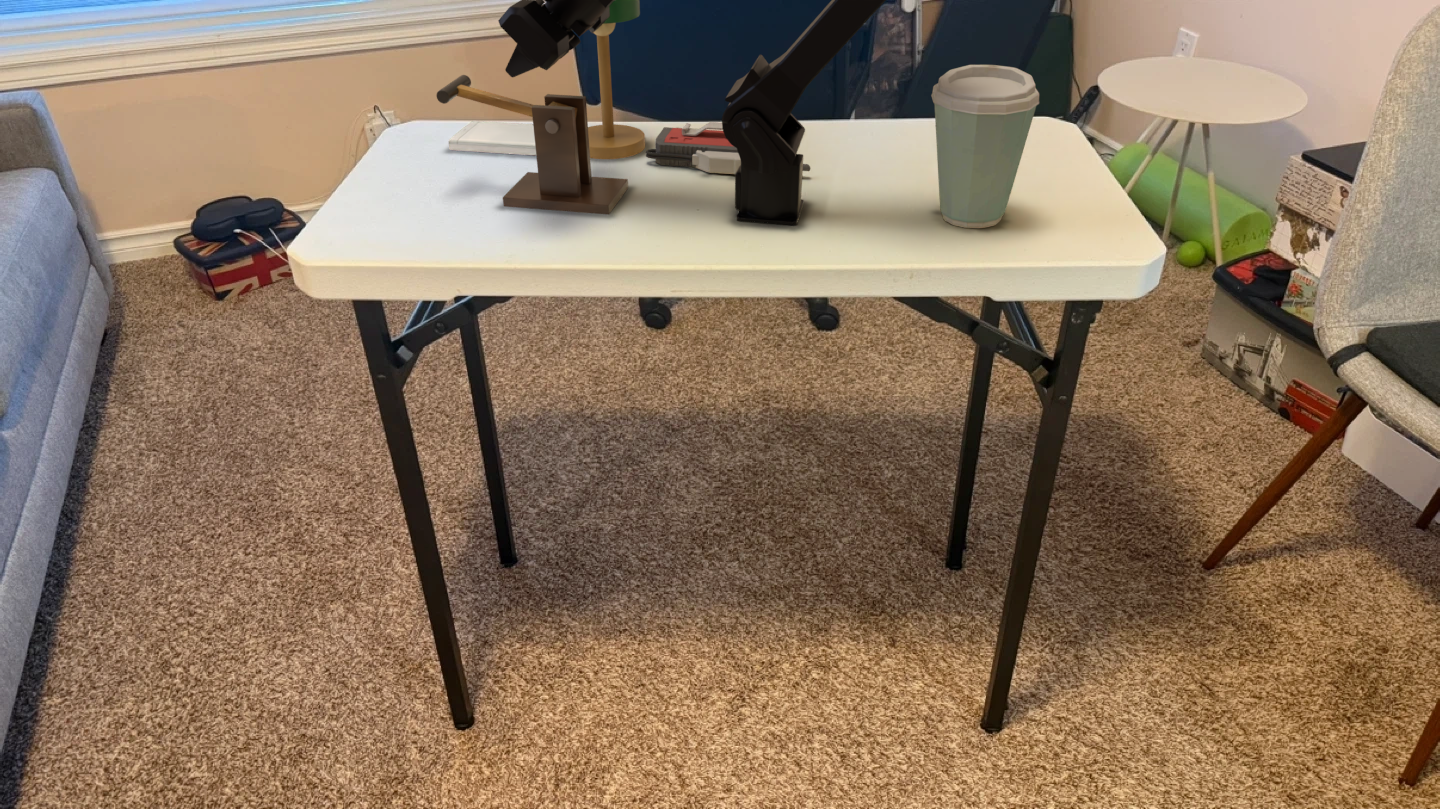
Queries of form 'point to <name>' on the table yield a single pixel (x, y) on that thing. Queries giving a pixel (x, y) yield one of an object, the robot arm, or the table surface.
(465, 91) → the switch lever
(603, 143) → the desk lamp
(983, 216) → the disposable coffee cup
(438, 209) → the table surface
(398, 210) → the table surface
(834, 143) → the table surface
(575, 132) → the switch bracket
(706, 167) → the red boxy piece
